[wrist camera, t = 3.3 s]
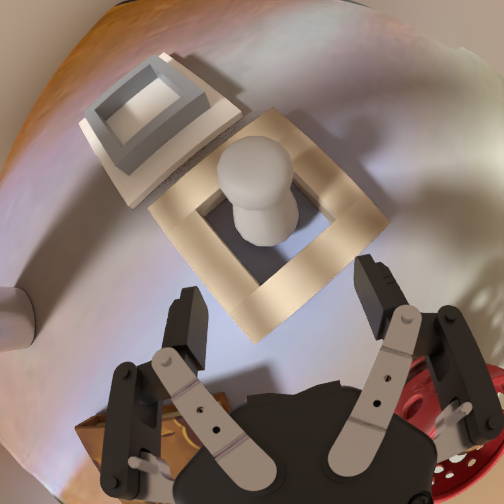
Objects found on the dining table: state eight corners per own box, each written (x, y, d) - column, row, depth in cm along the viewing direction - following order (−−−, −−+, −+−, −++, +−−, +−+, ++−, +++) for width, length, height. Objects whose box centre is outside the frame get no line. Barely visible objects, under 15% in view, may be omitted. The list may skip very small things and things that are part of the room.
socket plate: (133, 209, 29) (113, 198, 24) (83, 127, 32) (66, 114, 27) (242, 117, 29) (237, 94, 24) (166, 57, 32) (157, 39, 27)
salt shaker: (264, 181, 27) (250, 102, 14) (309, 217, 26) (330, 156, 14) (225, 224, 27) (178, 172, 14) (269, 262, 26) (257, 239, 13)
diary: (96, 413, 27) (70, 428, 21) (224, 389, 26) (210, 411, 20) (173, 529, 23) (160, 551, 17) (293, 520, 22) (292, 548, 16)
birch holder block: (257, 338, 25) (254, 344, 22) (160, 215, 28) (147, 208, 25) (379, 229, 25) (390, 222, 22) (274, 122, 28) (272, 107, 25)
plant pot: (342, 401, 24) (376, 466, 12) (439, 321, 23) (514, 335, 12) (391, 467, 21) (425, 526, 10) (473, 398, 21) (531, 429, 9)
